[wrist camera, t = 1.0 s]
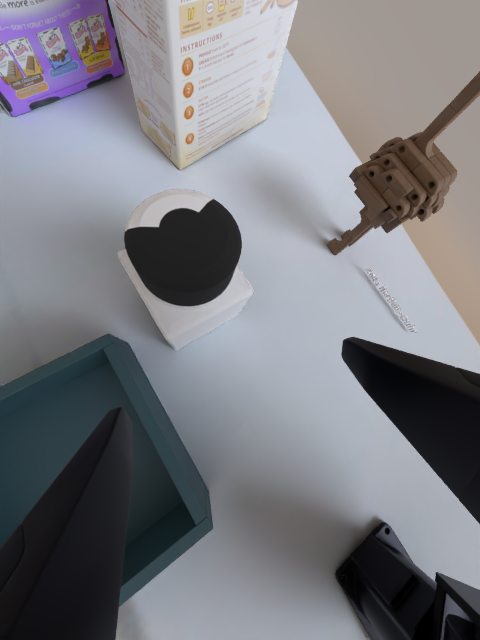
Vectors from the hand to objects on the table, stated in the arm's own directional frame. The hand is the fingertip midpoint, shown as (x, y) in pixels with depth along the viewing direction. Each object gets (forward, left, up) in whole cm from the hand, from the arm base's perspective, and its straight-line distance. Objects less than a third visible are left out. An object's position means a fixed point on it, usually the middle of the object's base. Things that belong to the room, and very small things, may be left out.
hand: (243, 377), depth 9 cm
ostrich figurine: (+1, -21, -13) cm, 25 cm away
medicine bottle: (+7, -1, -13) cm, 15 cm away
